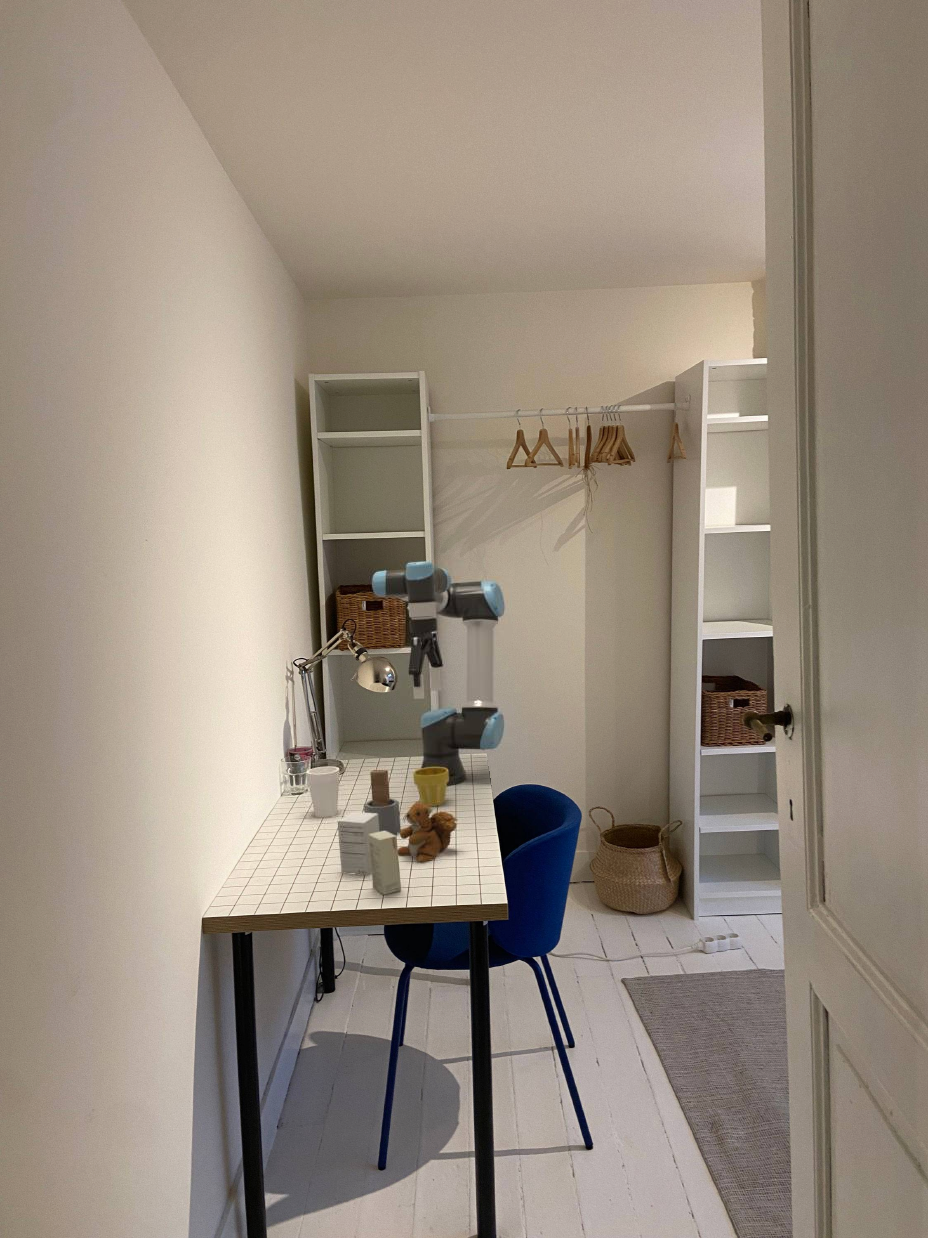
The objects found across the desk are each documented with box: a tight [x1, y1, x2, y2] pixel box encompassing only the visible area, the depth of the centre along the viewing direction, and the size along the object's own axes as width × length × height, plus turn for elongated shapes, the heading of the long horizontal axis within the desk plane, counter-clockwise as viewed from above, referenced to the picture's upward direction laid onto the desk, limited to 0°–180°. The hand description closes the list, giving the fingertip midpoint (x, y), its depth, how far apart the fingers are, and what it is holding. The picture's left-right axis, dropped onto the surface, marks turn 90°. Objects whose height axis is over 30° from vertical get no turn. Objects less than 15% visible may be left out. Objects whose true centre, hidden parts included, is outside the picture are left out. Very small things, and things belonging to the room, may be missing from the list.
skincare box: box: [369, 831, 402, 895], centre depth 194 cm, size 6×4×12 cm
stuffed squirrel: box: [398, 800, 459, 864], centre depth 215 cm, size 10×14×13 cm
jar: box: [363, 798, 402, 835], centre depth 235 cm, size 9×9×8 cm
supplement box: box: [336, 811, 379, 876], centre depth 207 cm, size 7×7×13 cm
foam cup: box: [306, 766, 341, 819], centre depth 256 cm, size 10×9×13 cm
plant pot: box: [412, 767, 449, 807], centre depth 260 cm, size 10×10×10 cm
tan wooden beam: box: [369, 769, 391, 807], centre depth 235 cm, size 2×4×16 cm, turn 72°
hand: (427, 694), depth 243 cm, fingers open, 13 cm apart
